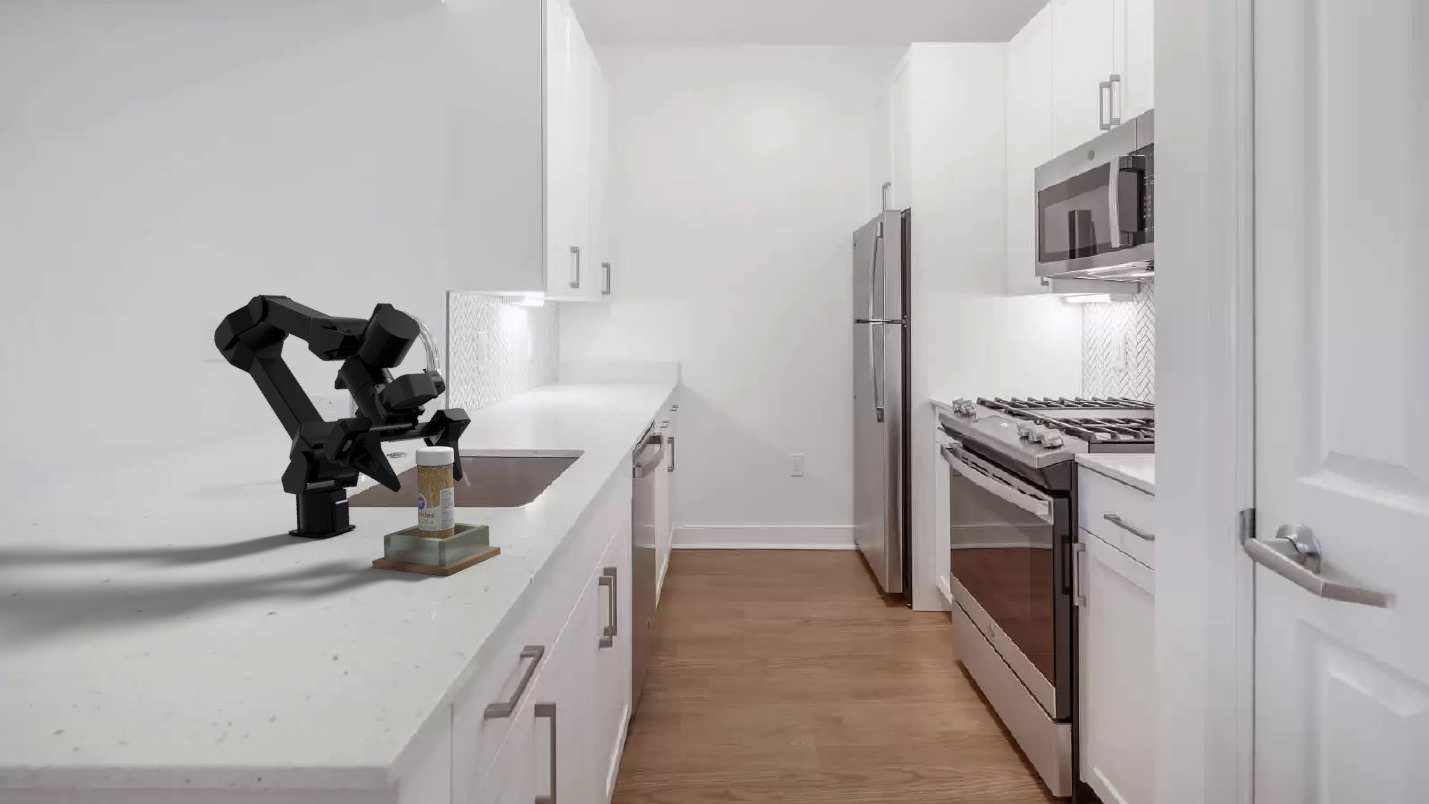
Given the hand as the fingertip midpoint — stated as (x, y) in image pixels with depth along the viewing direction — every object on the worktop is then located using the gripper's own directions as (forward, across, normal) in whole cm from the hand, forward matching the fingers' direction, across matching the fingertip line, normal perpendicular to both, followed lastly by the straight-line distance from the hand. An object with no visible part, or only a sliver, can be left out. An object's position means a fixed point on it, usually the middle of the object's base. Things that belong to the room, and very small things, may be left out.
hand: (430, 484), depth 109 cm
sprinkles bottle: (+7, 0, +6) cm, 9 cm away
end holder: (+8, 0, +6) cm, 10 cm away
